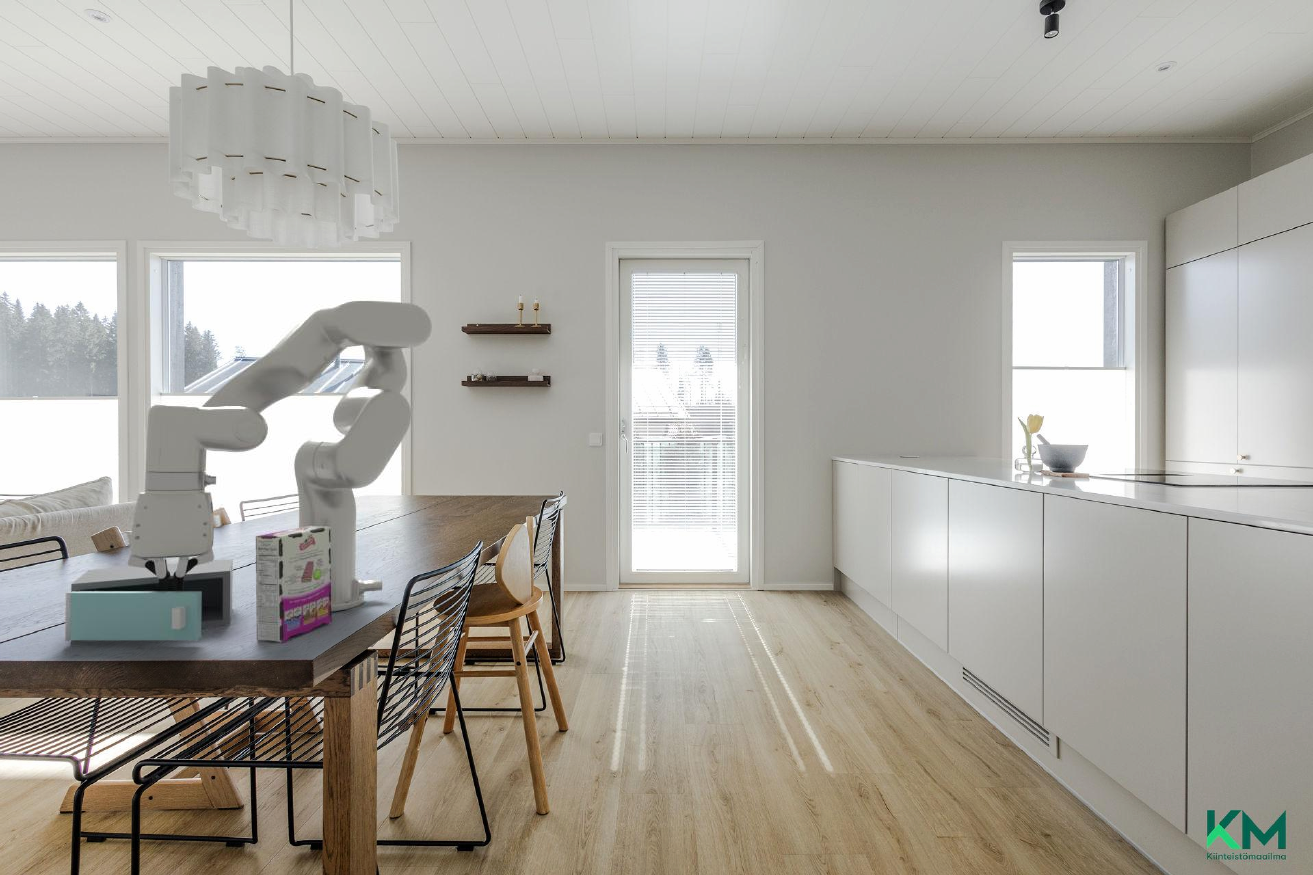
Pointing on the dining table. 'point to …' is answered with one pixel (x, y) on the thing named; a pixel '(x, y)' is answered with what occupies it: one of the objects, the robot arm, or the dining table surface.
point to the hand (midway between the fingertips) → (170, 602)
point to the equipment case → (201, 578)
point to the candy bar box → (293, 582)
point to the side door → (133, 615)
